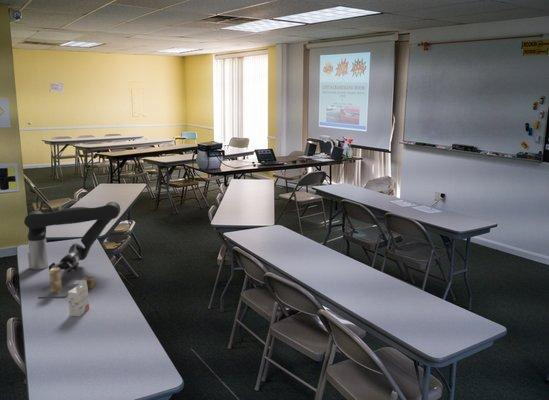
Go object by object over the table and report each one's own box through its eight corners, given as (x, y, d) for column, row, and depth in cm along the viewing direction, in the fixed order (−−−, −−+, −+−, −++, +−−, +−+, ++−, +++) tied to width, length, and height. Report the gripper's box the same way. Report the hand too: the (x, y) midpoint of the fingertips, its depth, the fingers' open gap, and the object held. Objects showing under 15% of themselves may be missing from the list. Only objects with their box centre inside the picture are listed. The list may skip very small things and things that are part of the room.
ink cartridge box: (80, 308, 227) (78, 278, 224) (89, 309, 226) (87, 279, 223) (69, 315, 219) (66, 285, 216) (78, 317, 218) (76, 286, 215)
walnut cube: (82, 289, 248) (81, 280, 247) (84, 285, 253) (84, 277, 252) (91, 289, 249) (91, 280, 248) (94, 285, 254) (93, 276, 253)
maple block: (51, 293, 241) (49, 270, 239) (53, 290, 245) (52, 267, 243) (59, 293, 242) (57, 270, 239) (61, 289, 246) (60, 267, 243)
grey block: (73, 295, 241) (73, 283, 240) (76, 291, 246) (76, 280, 245) (84, 294, 242) (83, 283, 241) (86, 290, 247) (86, 280, 245)
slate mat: (38, 298, 237) (38, 296, 237) (47, 287, 249) (47, 286, 249) (65, 297, 238) (65, 296, 238) (73, 287, 251) (73, 286, 251)
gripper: (55, 254, 263) (44, 265, 247) (82, 254, 265) (73, 264, 249) (56, 267, 265) (45, 278, 249) (83, 267, 266) (74, 278, 250)
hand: (59, 271), depth 249 cm, fingers open, 8 cm apart
